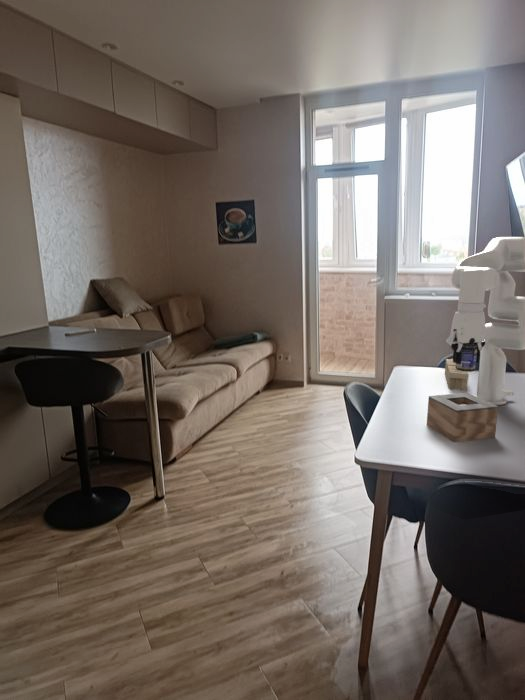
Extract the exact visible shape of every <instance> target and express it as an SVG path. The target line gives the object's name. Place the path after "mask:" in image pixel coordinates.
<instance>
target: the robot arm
mask: <svg viewBox="0 0 525 700" xmlns="http://www.w3.org/2000/svg"><path fill="white" fill-rule="evenodd" d="M510 272H519V273H520V272H523V273H525V236H499V237H498V236H497V237H495V238H492V239H491V240H489V242H488V243H487V245H485V248H484V249H483V250H482V251H481V252H479V253H476V254H474V255H471V256H468V257H466V258H464V259H462V260H460V262H458V263H457V265H456V266H455V268H454V270H453V272H452V275H451V278H450V279H451V284H452V286H453V288H455V289H457V290H459V293H458V304H457V311H455V313H454V314H453V317H452V322H451V326H450V327H451V328H450V334H449V336H448V337H447V338H446V339H445V342H446V344H447V345H449V347H450V348H451V350H452V352H453V356H452V359H453V362H454V363H457V364H460V363H461V355H462V353H461V352H460V350H461V348H462V346H463V344H465V343H470V342H469V340H470V339H471V338H474V339H475V342H474V343H475V344H476V345H477V358H476V364H477V363H479V367H478V378H477V387H476V388H477V390H476V393H474V394H473V395H474V396H476V397H478V398H480V399H483V400H485V401H487V402H489V403H492V404H494V405H496V406H500V405H501V406H504V405H505V404H506V403H507V401H508V400H507V398H506V397H507V396H513V395H514V392H513V390H505V388H504V387H505V380H506V379H505V378H506V368H507V356H506V354H505V352H504V351H503V349H507V350H516V351H524V350H525V296H517V295H515V290H516V286H517V285H516V281H515V279H514V277H513V276H512V274H510ZM486 291H490V293H489V299H488V306H487V305H486V303H485V296H486V295H485V293H486ZM486 307H487V314H488V317H489V318H491V319H493V320H499V321H509V322H510V321H511V322H517V323H518V324H512V323H502V322H488V323H486V315H485V312H484V309H485V308H486ZM457 346H458V347H457Z"/></svg>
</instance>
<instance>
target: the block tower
mask: <svg viewBox="0 0 525 700" xmlns="http://www.w3.org/2000/svg"><path fill="white" fill-rule="evenodd" d="M444 367H445V368H444V377H445V382H446V381H447V382H446V384H447V387H448V389H449V390H459V389H460V390H465V391H467V390H468V381H469V375H470V374H469V372H466V371H460V370H457V369H456V363H454V362H453V358H449V359H448V358H446V359H445V366H444Z"/></svg>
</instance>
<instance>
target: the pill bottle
mask: <svg viewBox="0 0 525 700" xmlns="http://www.w3.org/2000/svg"><path fill="white" fill-rule="evenodd" d="M469 342H470V343H465V344H463V346H462V348H461V350H460V352H461V353H462V355H461V363H460V364H457V363H456V369H457V370H460V371H466V372H468V373H469V372H470V373H471V372H475V371H476V369H477V368H476V367H477V366H476V365H477V363H476V358H477V345H476V344H475V343H474V342H475V339H474V338H471V339H470V340H469ZM457 347H458V346H457Z"/></svg>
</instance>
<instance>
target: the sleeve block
mask: <svg viewBox="0 0 525 700" xmlns="http://www.w3.org/2000/svg"><path fill="white" fill-rule="evenodd" d="M427 402H428V403H427V416H426V417H427V418H426V426H427V427H429V428H430V429H432V430H434V431H435V432H437V433H439V434H440V435H442V436H444V437H445V438H447V439H448V440H450V441H451V442H453V443H457V442H466V441H474V440H482V439H483V440H484V439H490V438H491V439H492V438H496V433H497V431H496V430H497V422H498V413H499V412H498V411H499V405H494V404H492V403H489V402H487V401H485V400H483V399H480V398H478V397H476V396H474V394H471V393H469V392H460V393H450V394H448V393H447V394H439V395H438V394H437V395H428V401H427ZM456 403H466V404H468V405H458V404H456Z"/></svg>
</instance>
